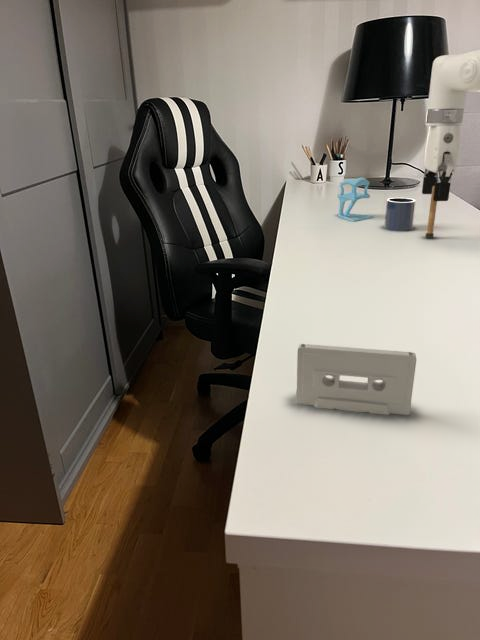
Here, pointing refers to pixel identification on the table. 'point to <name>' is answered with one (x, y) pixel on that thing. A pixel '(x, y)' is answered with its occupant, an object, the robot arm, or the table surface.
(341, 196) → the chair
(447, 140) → the robot arm
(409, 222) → the pencil cup
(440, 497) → the table surface
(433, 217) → the brush
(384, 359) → the cassette
